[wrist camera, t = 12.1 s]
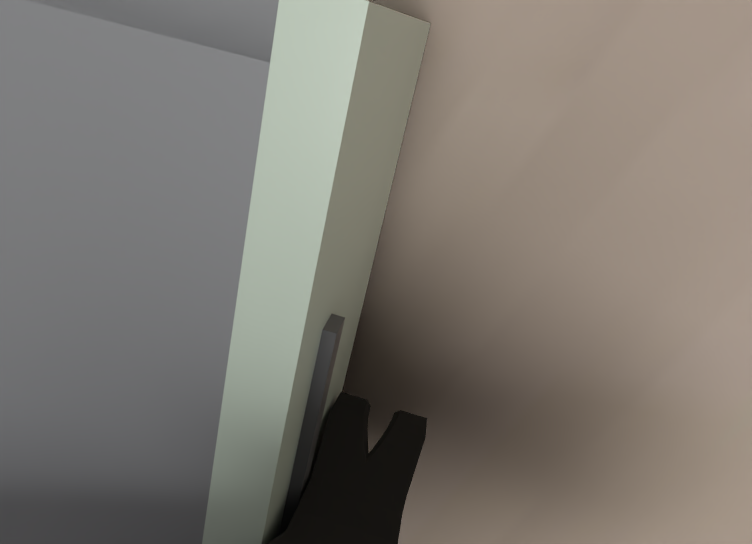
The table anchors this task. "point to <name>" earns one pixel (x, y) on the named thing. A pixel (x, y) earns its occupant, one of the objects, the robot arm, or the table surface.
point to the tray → (308, 249)
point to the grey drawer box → (121, 257)
